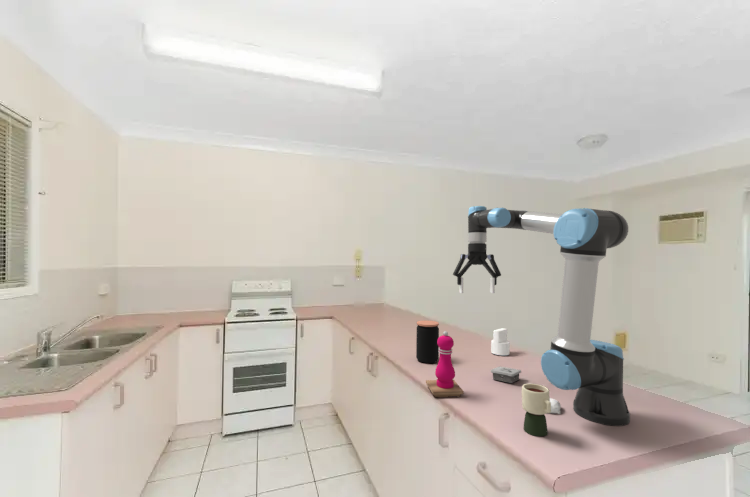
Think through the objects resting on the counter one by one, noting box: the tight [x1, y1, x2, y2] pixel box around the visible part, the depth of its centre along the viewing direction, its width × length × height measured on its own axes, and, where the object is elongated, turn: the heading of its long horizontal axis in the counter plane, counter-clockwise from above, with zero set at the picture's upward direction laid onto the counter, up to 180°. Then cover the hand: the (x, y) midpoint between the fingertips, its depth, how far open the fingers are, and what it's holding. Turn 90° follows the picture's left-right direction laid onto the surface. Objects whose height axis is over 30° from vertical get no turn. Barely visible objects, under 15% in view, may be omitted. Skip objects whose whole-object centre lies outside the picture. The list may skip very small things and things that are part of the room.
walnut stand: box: [425, 379, 465, 398], centre depth 126 cm, size 11×11×2 cm
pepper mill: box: [434, 330, 456, 389], centre depth 127 cm, size 7×7×20 cm
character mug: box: [521, 383, 552, 437], centre depth 98 cm, size 11×7×13 cm, turn 17°
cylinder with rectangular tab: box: [490, 327, 511, 356], centre depth 178 cm, size 9×9×12 cm
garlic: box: [550, 397, 562, 415], centre depth 113 cm, size 8×7×4 cm
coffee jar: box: [415, 320, 440, 364], centre depth 165 cm, size 11×11×18 cm
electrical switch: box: [490, 365, 522, 384], centre depth 140 cm, size 9×5×9 cm
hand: (476, 292), depth 145 cm, fingers open, 13 cm apart
